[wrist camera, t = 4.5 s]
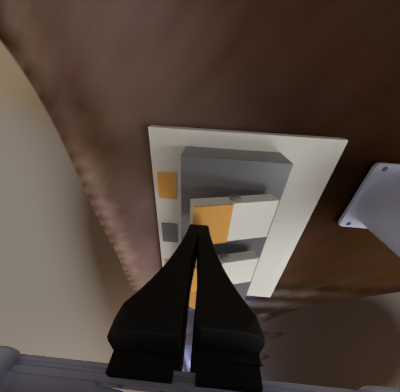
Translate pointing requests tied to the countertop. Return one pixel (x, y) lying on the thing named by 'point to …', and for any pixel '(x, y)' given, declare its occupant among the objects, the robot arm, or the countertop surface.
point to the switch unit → (241, 187)
